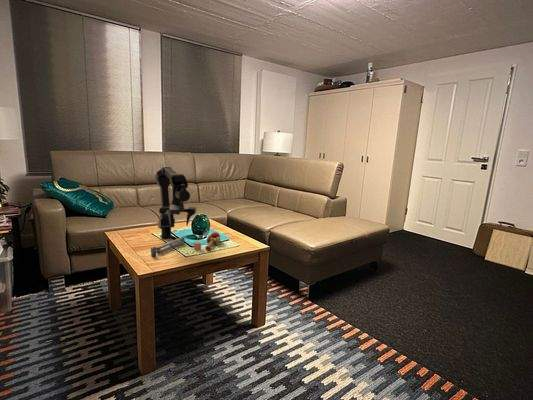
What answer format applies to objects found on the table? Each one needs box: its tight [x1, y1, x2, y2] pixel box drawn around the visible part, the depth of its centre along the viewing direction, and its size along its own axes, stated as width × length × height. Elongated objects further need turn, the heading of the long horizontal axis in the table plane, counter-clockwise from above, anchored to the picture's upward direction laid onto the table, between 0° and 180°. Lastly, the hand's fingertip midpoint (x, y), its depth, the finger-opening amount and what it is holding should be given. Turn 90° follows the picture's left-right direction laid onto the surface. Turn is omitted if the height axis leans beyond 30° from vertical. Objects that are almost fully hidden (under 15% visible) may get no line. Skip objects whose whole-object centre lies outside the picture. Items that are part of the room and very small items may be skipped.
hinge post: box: [150, 246, 157, 258], centre depth 148 cm, size 2×2×4 cm
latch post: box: [193, 241, 202, 252], centre depth 159 cm, size 3×3×4 cm
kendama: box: [205, 232, 221, 252], centre depth 166 cm, size 8×6×18 cm
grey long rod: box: [155, 236, 186, 255], centre depth 159 cm, size 2×20×3 cm, turn 154°
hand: (178, 225), depth 158 cm, fingers open, 9 cm apart
